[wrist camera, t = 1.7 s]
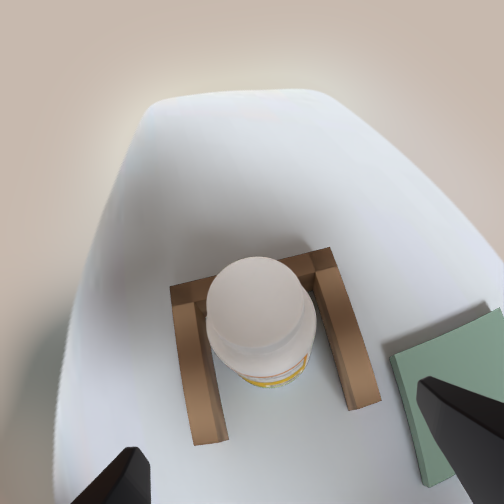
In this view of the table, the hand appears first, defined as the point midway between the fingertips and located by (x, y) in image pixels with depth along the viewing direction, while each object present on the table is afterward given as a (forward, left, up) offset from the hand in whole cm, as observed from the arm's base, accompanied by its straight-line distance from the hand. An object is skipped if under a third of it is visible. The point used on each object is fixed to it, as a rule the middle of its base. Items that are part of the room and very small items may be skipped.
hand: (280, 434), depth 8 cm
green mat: (-4, -13, -12) cm, 18 cm away
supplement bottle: (+5, -1, -12) cm, 13 cm away
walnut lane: (+5, -1, -12) cm, 13 cm away
